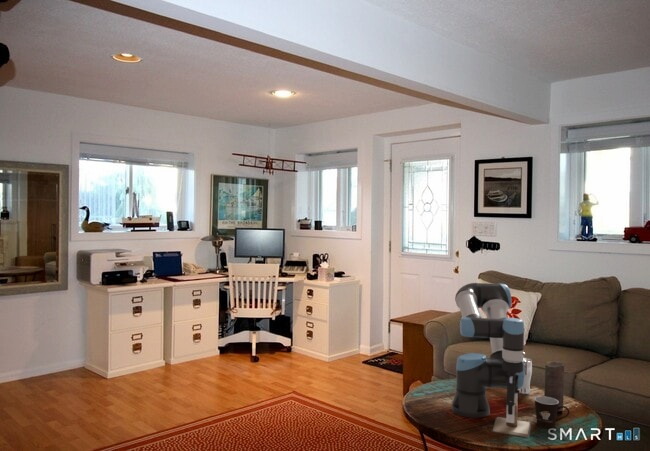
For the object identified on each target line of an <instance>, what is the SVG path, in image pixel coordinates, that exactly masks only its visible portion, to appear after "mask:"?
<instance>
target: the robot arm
mask: <svg viewBox="0 0 650 451" xmlns="http://www.w3.org/2000/svg"><path fill="white" fill-rule="evenodd" d="M454 298H455V299H454V300H455V305H456V306H457V308H459V311H460V314H461V318H460V320H459V330H460V331H459V333H460V335H461V336H462V337H466V338H467V337H468V338H488V339H489V341H490V349H491V354H489V357H487V356H486V354H484V353H479V352H469V353H464V354H462V355H459V356H458V357H457V359H456V365H455V366H456V367H455V369H456V378H455V379H456V381H455V383H456V386H455V387H456V388H455V394H454V397H453V399H452V403H451V412H452V413H454V414H455V415H457V416H460V417H465V418H470V419H471V418H472V419H474V418H475V419H479V418H480V419H481V418H485V417H487V416H490V413H491V410H490V409H491V408H490V405H489V400H488V398H487V395H486V391H487V390H486V388H487V389H489V388H490V389H503V390H504V389H505V390H506V402H504V406H506V407H507V410H506V417H505V418H506V422H509V423H514V410H515V405H514V403H516V404H518V399H519V398H518V397H519V396H518V395H519V394H520V393H519V392H520V390H518V389H520V388H521V387H522V386H523V382H524V372H525V366H524V361H523V358H524V356H526V352H524V348H525V344H524V343H525V323H524V320H523V319H521V318H515V317H508V316H507V313H508V311H509V309H510V308H511V307H512V293H511V290H510V288H509V286H508V285H507V284H505V283H500V282H496V283H488V282H487V283H486V282H485V283H484V282H483V283H482V282H470V283H467V284H464V285H462V286H461V287H460V288H459V289H458V290H457V292H456V293H455V297H454ZM479 309H481V310H482V313H484V315H485V316H486V318H484V317H482V315H481V311H480V310H479Z"/></svg>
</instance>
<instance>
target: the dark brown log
mask: <svg viewBox="0 0 650 451" xmlns="http://www.w3.org/2000/svg"><path fill="white" fill-rule="evenodd" d="M544 370H545V372H544V396H545V397H551V398H554V399H556V400H558V401H559V404H558V407H560V406H564V388H565V386H564V384H565V363H564V362H563V361H562V362H561V361H546V362H545V369H544ZM561 411H564V408H560V409H559V410H558V411H557V412H561Z"/></svg>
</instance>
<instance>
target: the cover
mask: <svg viewBox="0 0 650 451" xmlns="http://www.w3.org/2000/svg"><path fill="white" fill-rule="evenodd" d="M514 405H515V410H514V423H509V422H506V417H500V416H497V417H496V418H495V420H496V422H495V421H494V423H495V425H494V424H493V426H494V428H493V427H492V429H493V431H496V432H495V433H498V432H502V433H501V434H503V433H507V434H506V435H509V434H513V435H512V436H515V435H519V436H518V437H521V436H525V437H524V438H526V437H528V432H529V426H530V424H531V422H530V421H524V420H518V417H519V416H518V411H519V410H518V408H519V407H518V406H519V405H518V404H516V403H514ZM506 410H507V406H506Z"/></svg>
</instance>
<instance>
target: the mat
mask: <svg viewBox="0 0 650 451" xmlns="http://www.w3.org/2000/svg"><path fill="white" fill-rule="evenodd" d="M495 422H496V419H495V420H494V422H493V426H492V428H491V433H492V432H493V433H497V434H505V435H509V436H510V435H511V436H515V437H521V438H522V437H523V438H526V439H529V438H530V434H531V427H532V424H531V423H530V426H529V432H528V437H525V436H519V435H513V434H507V433H502V432H496V431H493V428H494V425H495Z"/></svg>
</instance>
